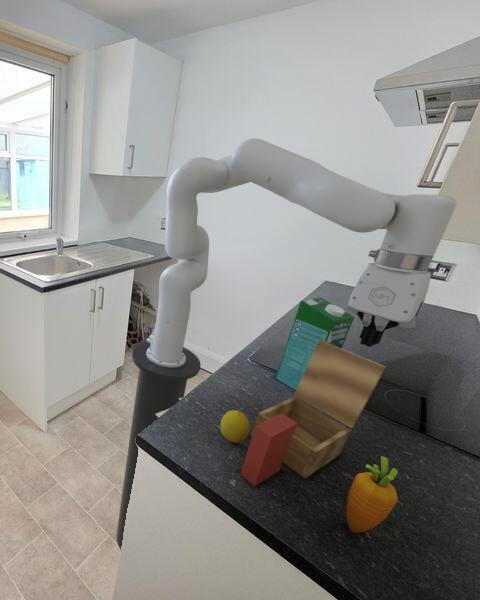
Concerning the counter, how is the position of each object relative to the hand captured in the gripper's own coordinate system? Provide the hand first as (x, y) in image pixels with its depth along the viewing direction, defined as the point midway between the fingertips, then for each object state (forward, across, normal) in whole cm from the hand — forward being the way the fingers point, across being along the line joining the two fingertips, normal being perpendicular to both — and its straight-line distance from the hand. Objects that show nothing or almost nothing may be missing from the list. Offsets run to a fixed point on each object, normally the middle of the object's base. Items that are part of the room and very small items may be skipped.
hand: (367, 344), depth 67 cm
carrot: (+22, +14, -26) cm, 37 cm away
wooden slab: (+8, 0, -8) cm, 11 cm away
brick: (+22, 0, -29) cm, 37 cm away
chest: (+22, 0, -16) cm, 27 cm away
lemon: (+22, -8, -28) cm, 36 cm away
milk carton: (+22, -14, +10) cm, 28 cm away
